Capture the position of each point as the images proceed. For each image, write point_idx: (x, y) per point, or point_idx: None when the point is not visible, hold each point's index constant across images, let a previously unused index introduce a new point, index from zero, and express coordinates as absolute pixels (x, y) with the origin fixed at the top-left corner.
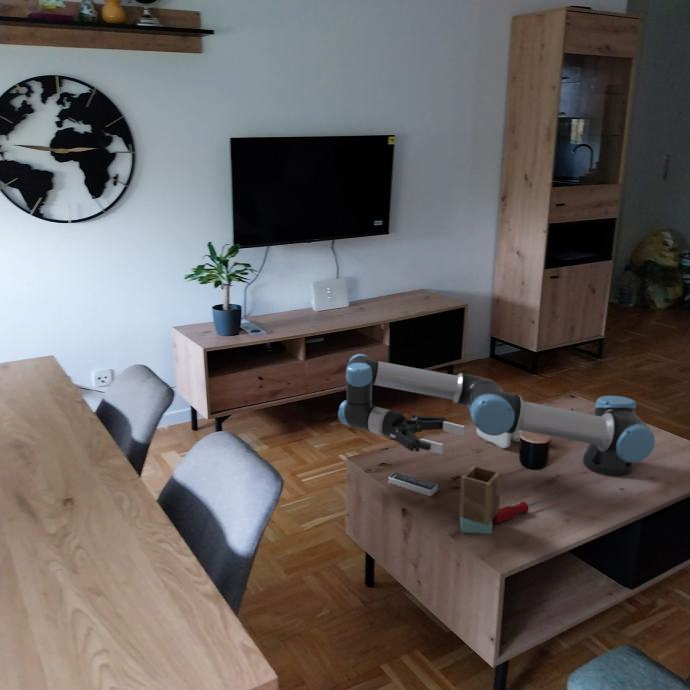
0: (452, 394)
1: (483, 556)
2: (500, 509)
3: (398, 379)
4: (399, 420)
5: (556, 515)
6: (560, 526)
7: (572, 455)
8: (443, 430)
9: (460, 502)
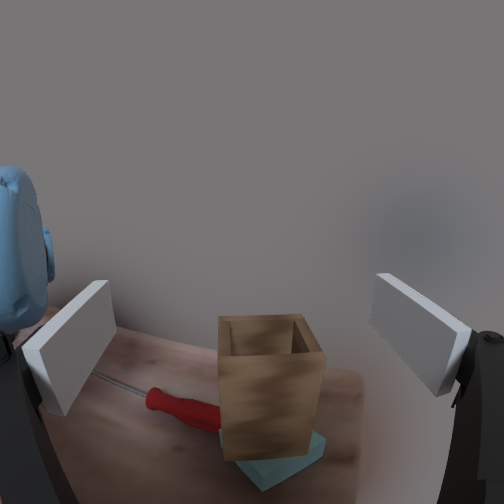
0: None
1: (353, 398)
2: (208, 412)
3: None
4: None
5: (143, 373)
6: (176, 364)
7: None
8: (65, 411)
9: (313, 426)
